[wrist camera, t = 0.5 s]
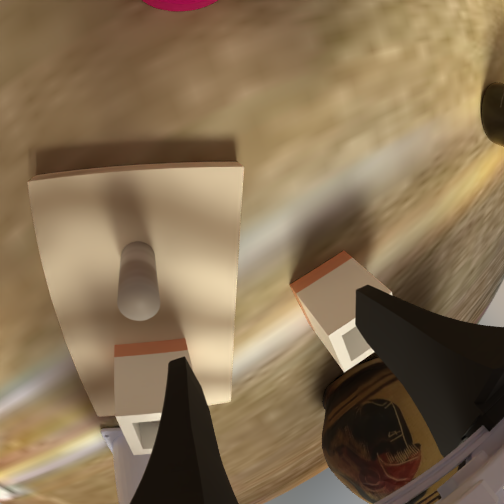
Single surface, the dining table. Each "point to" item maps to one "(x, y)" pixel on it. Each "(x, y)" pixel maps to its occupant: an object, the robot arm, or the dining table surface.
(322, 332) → the sleeve
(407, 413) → the ceramic jug
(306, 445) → the dining table surface
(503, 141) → the supplement bottle
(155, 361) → the seated sleeve
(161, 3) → the pepper mill
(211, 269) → the pin board
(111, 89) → the dining table surface
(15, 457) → the dining table surface
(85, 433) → the dining table surface
